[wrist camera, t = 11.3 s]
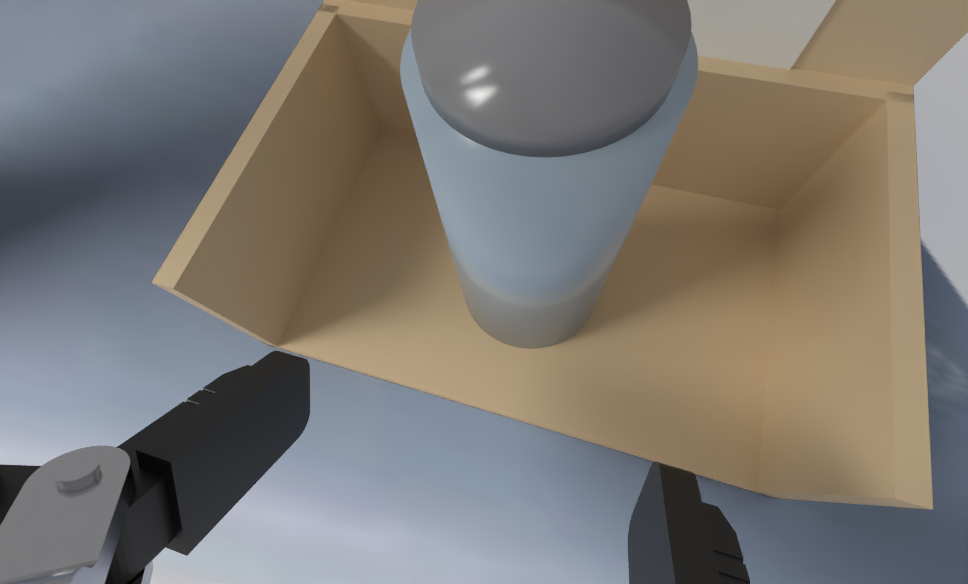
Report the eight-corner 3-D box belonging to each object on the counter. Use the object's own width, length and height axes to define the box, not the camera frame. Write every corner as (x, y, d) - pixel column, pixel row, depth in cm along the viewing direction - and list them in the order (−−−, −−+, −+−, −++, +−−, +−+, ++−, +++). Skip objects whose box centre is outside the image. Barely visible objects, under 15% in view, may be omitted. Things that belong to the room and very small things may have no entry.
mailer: (266, 344, 21) (-157, 116, 8) (379, 112, 25) (235, -268, 12) (774, 497, 17) (1601, 557, 4) (795, 193, 22) (1203, -227, 9)
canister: (445, 327, 20) (339, 107, 8) (485, 212, 22) (449, -97, 10) (580, 365, 19) (689, 179, 7) (610, 241, 21) (732, -65, 9)
